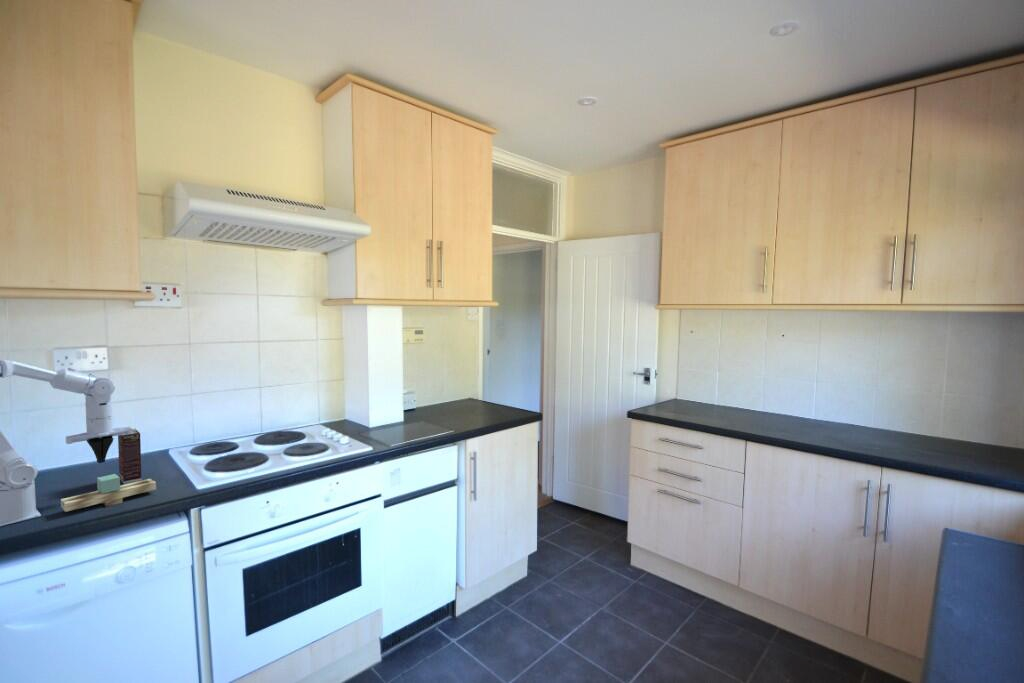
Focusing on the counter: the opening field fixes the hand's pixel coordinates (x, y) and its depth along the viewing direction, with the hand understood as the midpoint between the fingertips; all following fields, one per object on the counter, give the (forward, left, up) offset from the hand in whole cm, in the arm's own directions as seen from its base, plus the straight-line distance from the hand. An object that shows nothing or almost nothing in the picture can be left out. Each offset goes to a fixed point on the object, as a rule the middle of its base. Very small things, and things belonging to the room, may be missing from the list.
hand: (101, 462), depth 137 cm
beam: (0, -9, -10) cm, 13 cm away
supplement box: (+9, +9, -10) cm, 16 cm away
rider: (0, -9, -7) cm, 12 cm away
